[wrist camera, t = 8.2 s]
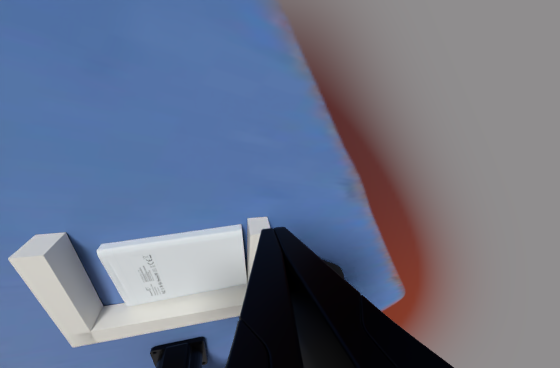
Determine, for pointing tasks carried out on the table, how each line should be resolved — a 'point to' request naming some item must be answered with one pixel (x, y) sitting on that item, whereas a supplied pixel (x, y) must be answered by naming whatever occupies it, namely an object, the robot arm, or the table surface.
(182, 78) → the table surface
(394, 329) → the robot arm
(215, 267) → the external hard drive
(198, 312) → the dock
